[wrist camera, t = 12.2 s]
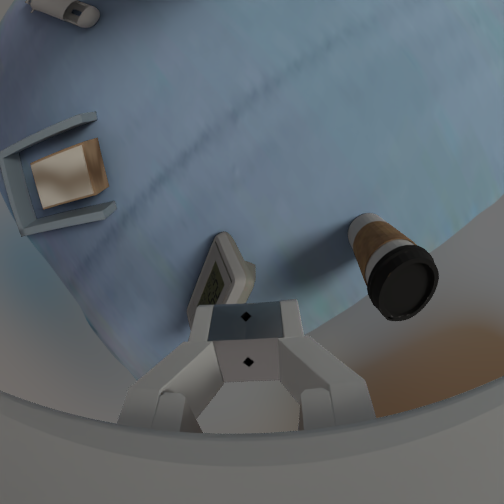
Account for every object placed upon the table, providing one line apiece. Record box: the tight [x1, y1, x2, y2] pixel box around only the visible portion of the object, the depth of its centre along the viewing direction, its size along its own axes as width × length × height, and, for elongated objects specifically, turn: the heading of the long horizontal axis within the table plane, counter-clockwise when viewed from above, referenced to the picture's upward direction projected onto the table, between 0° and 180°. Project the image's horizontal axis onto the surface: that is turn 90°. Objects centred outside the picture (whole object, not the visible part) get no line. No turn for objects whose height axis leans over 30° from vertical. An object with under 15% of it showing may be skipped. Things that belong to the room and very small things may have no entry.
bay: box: [0, 112, 117, 237], centre depth 34 cm, size 14×18×4 cm
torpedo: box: [25, 0, 100, 28], centre depth 20 cm, size 18×5×7 cm, turn 54°
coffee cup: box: [348, 213, 439, 321], centre depth 33 cm, size 8×8×15 cm
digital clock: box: [187, 232, 255, 330], centre depth 39 cm, size 16×9×11 cm, turn 146°
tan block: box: [30, 138, 109, 210], centre depth 33 cm, size 7×10×5 cm
